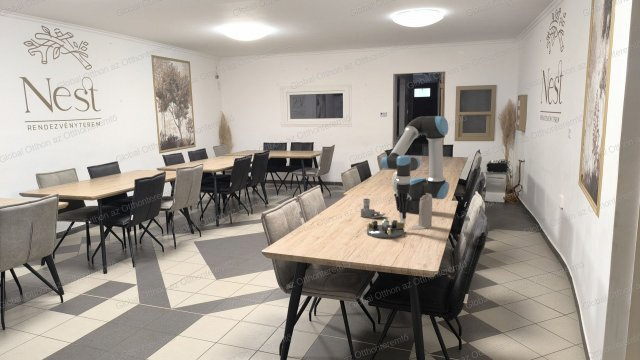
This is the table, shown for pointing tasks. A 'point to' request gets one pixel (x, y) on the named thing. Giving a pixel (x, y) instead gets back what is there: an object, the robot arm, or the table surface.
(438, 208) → the table surface
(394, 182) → the vase
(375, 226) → the knob
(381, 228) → the level base
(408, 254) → the table surface
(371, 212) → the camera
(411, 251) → the table surface
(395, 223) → the knob
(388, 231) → the knob
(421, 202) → the grey upright bracket
